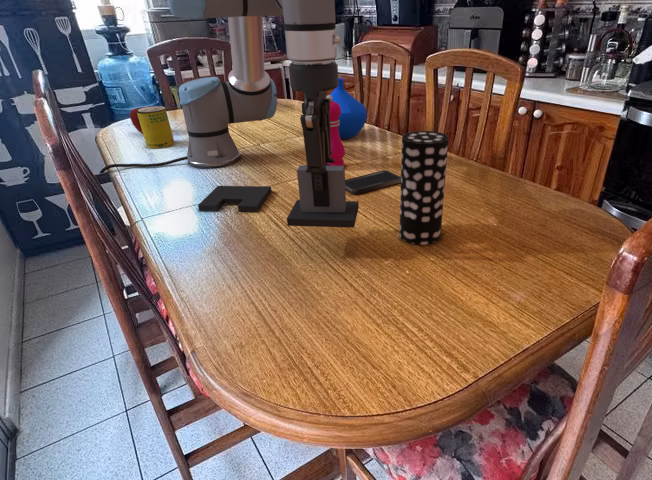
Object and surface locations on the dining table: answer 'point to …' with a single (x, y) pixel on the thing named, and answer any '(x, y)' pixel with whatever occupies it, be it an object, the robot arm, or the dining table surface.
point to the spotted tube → (422, 186)
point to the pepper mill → (335, 134)
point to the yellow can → (155, 127)
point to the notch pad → (236, 198)
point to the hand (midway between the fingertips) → (323, 201)
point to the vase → (348, 112)
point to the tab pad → (324, 216)
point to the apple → (136, 119)
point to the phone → (371, 182)
